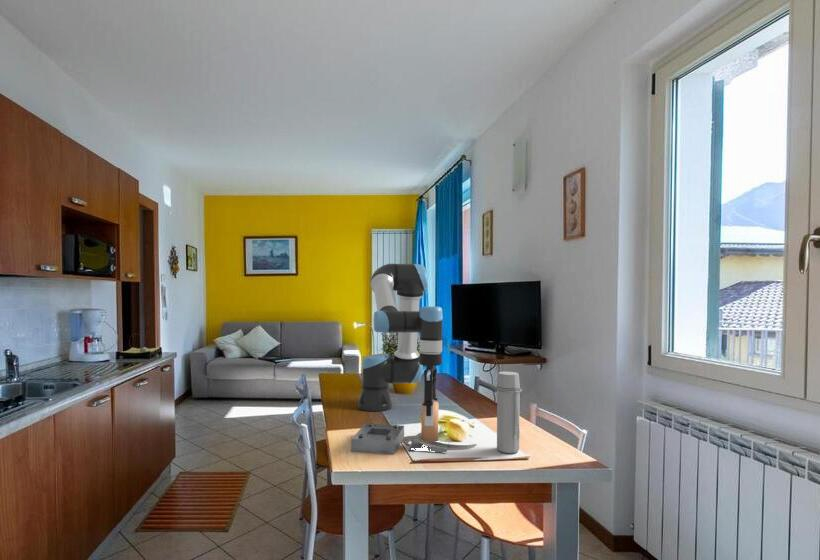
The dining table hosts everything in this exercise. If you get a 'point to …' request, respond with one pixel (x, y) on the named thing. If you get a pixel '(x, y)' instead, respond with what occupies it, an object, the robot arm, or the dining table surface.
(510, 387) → the water bottle
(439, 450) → the pad
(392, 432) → the housing
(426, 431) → the tan cylinder
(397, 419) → the dining table surface
